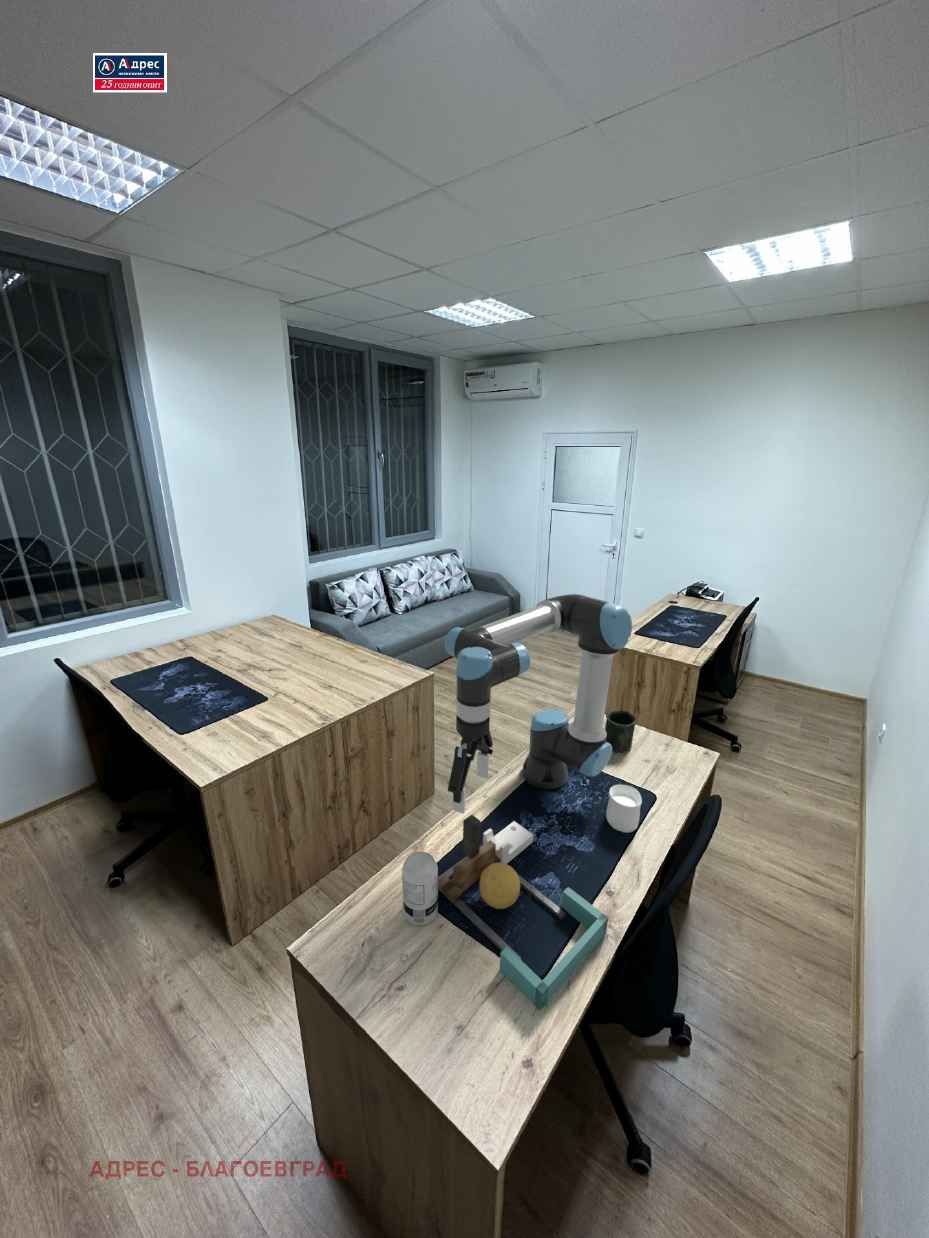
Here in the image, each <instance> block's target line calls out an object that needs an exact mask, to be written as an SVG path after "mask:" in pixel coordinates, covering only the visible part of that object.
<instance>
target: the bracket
mask: <svg viewBox="0 0 929 1238" xmlns="http://www.w3.org/2000/svg"><path fill="white" fill-rule="evenodd" d="M482 834H483V835H482V845H484V844H486V843H487V842H488V841H490V840H491V841H492V842H493V843H495V844H496V850H495V855H496V856H497V857H498V858H499V859H500V863H505V864H507V865H508V863H510V862H511V861H512V860H513V859H515V858H516V857H517V856H518V855H519V854H520V853H522V852H523V851H524V850H525V849H526V848H528V847H529V846H530V845H531V844H532V843H533V842H534V833H532V832H530V831H529V830H527V829H526V828H525V827H523V826H522V825H521V824H519V823H517V822H516V821H515V820H513V821H512V822H511V823H509V824H508V825H507V826H506V827H505V828H503V829H501V831H499V832H498V833H497V834H495V835H494V832H493V829H492V828H489V829H487V830H485V831H484V832H483V833H482Z"/></svg>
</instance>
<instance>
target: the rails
mask: <svg viewBox="0 0 929 1238" xmlns="http://www.w3.org/2000/svg"><path fill="white" fill-rule="evenodd" d="M481 846H483V844H480V847H481ZM467 857H468V856H467V855H466V856H465V857H464V858H462V859H461V860H459V861H458V862H456V863H455V864H454V865H452V867H450V868H448V869H447V870H445V871H444V872H443V873H442V874H440V875H438V880H439V879H440V878H442V877H443V876H445V875H446V876H447V877H448V878H449V879H450V878H453V867H454V866H456V865H457V864H459V863H460V862H461V861H463V860H464V859H465V858H467ZM517 875H518V877H519V880H520V888H523V890H525V891H526V892H527V893H528V894H530V895H531V896H532V897H533V898H534V899H536V900H537V901H538V902H540V903H541V904H542V905H543V906H544V907H545V908H547V909H548V910H549V911H550V912H551V913H553V915H555V916H556V917H558V919H560V920H563V919H564V917H565V916H566V911H564V909H562V908H560V907H559V906H558V905H557V904H556V903H554V902H553V901H552V900H550V899H549V897H547V896H545V895H544V894H543V893H542V892H540V891H539V890H538V889H537V888H536V887H534V886H533V885H532V884H531V883H529V882H528V881H527V880H526V879H525V878H524V877H522V876H521V875H519V873H517ZM451 903H452V904H453V905H454V906H455V907H456V908H457V909H458V910H459V911H460V912H461V913H462V914H463V915H464V916H465V917H466V918H468V920H469V919H470V920H469V921H470V922H471V923H473V925H474V926H476V927H477V928H478V929H479V930H480V932H482V933H483V934H484V936H485V937H487V938H488V939H489V941H490V942H492V943H493V944H494V945H495V947H497V949H499V951H500V952H502V951H503V950H504V949H505V948H506V947H508V948H509V949H510V950H511V951H512V952H513V953H514V954H515V955H516V956H517V957H518V958H519V959H520V960H521V961H522V957H521V956H520V955H519V954H518V953H517V952H516V951H515V950H514V949H513V948H512V947H511V946H510V945H508V944H507V942H506V941H505V940H504V939H503V938H501V937H500V936H499V935H498V934H497V932H495V931H494V930H493V929H492V928H491V927H490V926H489V925H488V924H487V923H486V922H484V920H483V919H481V918H480V917H479V916H478V915H477V914H476V913H475V912H474V911H473V909H471V908H470V907H469V906H468V905H467V904H466V903H465V902H464V901H463V900H462V899H461V898H460V897H458V898H457V899H456V900H455V901H453V902H451Z"/></svg>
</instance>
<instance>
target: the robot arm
mask: <svg viewBox="0 0 929 1238" xmlns="http://www.w3.org/2000/svg"><path fill="white" fill-rule="evenodd" d="M632 630H633V620H632V616H631V614H630V612H629V610H628V609H626V608H625V607H624V606H621V605H619V604H616V603H615V602H611V601H610V602H609V601H607V600H606V601H605V600H602V599H599V598H598V599H597V598H594V597H590V596H586V595H583V594H577V593H571V594H564V595H558V596H554V597H550V598H546V599H544V600H541V601H539V602H537V604H536V605H535V607H532V608H529V609H525V610H523V611H520V612H517V613H514V614H512V615H510V616H506V617H503V618H501V619H498V620H495V621H492V622H490V623H487V624H485V625H482V626H481V625H480V626H478V627H476V628H475V627H474V628H473V629H466V628H463V627H459V626H458V627H454V628H452V629H451V630H450V631H448V632H447V634H446V637H445V639H444V648H445V649H444V650H445V652H447V654H448V655H450V656H451V657H454V658H455V659H456V668H455V670H456V671H455V672H456V698H455V702H456V717H455V718H456V722H455V728H456V732H457V733H458V734H459V736H460V737H461V740H460V746H455V748H454V756H453V761H452V762H453V763H452V767H451V773H450V776H449V780H448V785H447V791H448V792H450V793H452V811H455V812H458V813H459V814H463V815H464V814H465V812H466V787H465V784H466V779H467V777H468V773H469V770H470V767H471V762H473V761H474V760H475V756H476V752H477V751H478V752H477V756H476V758H477V759H476V760H477V761H476V776H477V777H479V778H480V777H481V778H484V779H486V780H488V777H489V759H490V755H493V752H494V750H493V749H491V748H493V745H494V743H493V739H492V735H491V731H490V724H491V723H490V722H491V718H490V715H491V702H492V701H491V695H492V694H491V693H492V688H493V687H495V686H498V685H500V684H502V683H504V682H507V681H509V680H512V679H515V678H518V677H519V676H520V675H522V674H524V673H526V672H527V671H528V670H529V669H530V667H531V655H530V652H529V650H528V648H527V647H525V645H524V644H522V643H521V642H523V641H525V640H528V639H530V638H531V639H532V638H533V637H535V636H537V635H540V634H542V633H549V634H550V633H555V632H557V631H559V632H566V633H569V634H571V635H573V636H578V638H577V639H578V641H577V647H578V648H579V649H580V651H581V652H582V653H581V659H580V660H581V661H580V667H579V674H578V675H579V676H578V684H577V689H576V699H575V706H574V707H575V708H574V714H573V721H572V722H570V723H569V717H568V715H567V714H566V713H565V712H563V711H560V710H555V709H546V710H545V709H544V710H542V711H539V712H536V713H535V714H534V715H533V717H532V718H531V724H530V726H529V727H530V733H529V735H530V736H529V750H528V754H527V756H526V757H525V759H524V763H523V765H522V770H521V771H522V777H523V779H524V780H525V781H526V782H527V783H528V784H530V785H531V786H533V787H535V788H537V789H542V790H555V789H560V788H561V787H563V786H565V784H566V783H567V781H568V776H569V775H568V774H569V771H568V767H567V766H569V767H571V768H573V769H574V770H575V771H578V773H579V774H584V775H585V776H587V777H590V778H591V777H592V778H593V777H596V776H597V775H599V774H600V773H601V772H602V771H603V770H604V769H605V767H606V766H607V765H608V763H609V761H610V759H611V757H612V754H613V751H612V746H611V745H610V744H609V743H608V742H606V736H607V733H606V731H605V728H604V719H605V715H606V713H605V712H606V707H607V706H606V705H607V700H608V691H609V686H610V685H609V684H610V680H611V679H610V677H611V673H612V665H613V659H614V656H615V655H617V654H618V653H619V652H620V650H621V649H623V648H624V647H626V646H627V644H628V642H629V639H630V638H631V635H632ZM468 755H469V756H468Z"/></svg>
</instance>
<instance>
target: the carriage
mask: <svg viewBox="0 0 929 1238" xmlns="http://www.w3.org/2000/svg"><path fill="white" fill-rule="evenodd" d="M462 821H463V823H462V825H463V826H462V853H463V854H464V855H466V856H468V857H467V858H465V857H464V858H465V859H464V858H463V859H464V860H463V861H461V860H460V861H461V862H460V863H459V864H457V863H456V864H457V865H456V866H454V865H453V866H454V867H453V866H452V867H453V876H452V877H451V879H450V878H448V877H447V876H446V875H445V876H443V877H442V878H440V879H439V880H438V891H440V892H441V893H442V895H444V896H445V897H446V898H447V899H448V900H449V901H450V902H451V903H452V902H453V901H455V900H456V899H457V898H458V897H459V898H460V897H461V896H462V893H464V892H465V891H466V890H467V889H468V888H469V887H471V886H472V885H473V884H475V883H476V882H478V881H480V876H481V873H482V871H483V870H484V869H485V868H487V867H488V866H489V865H491V864H494V863H500V859H499V858H498V857H497V856H496V855H495V850H496V844H495V843H493V842H492V841H491V840H490V841H488V842H487V843H486V844H484V845H483V844H482V845H483V846H481V842H480V841H481V820H480V819H479V818H477V817H476V816H475V815H474V814H470V815H469V816H468V817H466V818H464V819H463V820H462ZM480 846H481V847H480Z"/></svg>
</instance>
